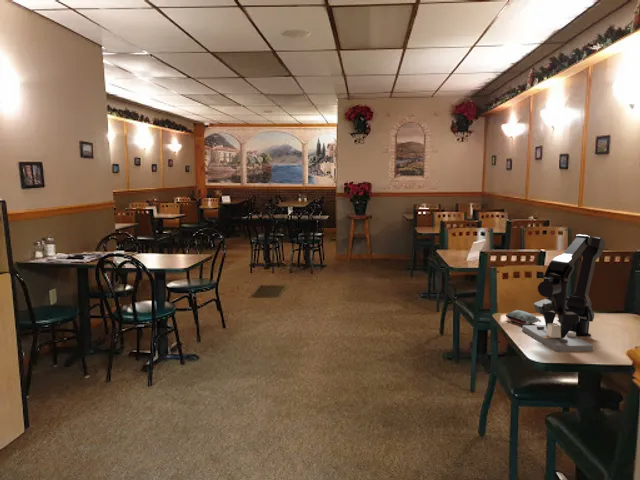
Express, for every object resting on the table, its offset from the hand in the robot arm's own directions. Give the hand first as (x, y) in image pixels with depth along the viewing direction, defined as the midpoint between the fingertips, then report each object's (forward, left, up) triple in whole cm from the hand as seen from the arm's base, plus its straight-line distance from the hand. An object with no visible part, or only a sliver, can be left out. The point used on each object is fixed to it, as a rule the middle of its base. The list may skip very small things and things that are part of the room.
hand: (555, 333), depth 180 cm
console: (-2, -3, -4) cm, 5 cm away
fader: (0, 0, -1) cm, 1 cm away
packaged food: (-1, -26, -4) cm, 26 cm away
